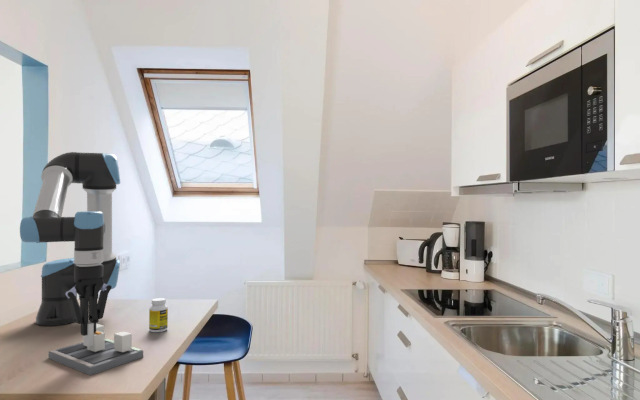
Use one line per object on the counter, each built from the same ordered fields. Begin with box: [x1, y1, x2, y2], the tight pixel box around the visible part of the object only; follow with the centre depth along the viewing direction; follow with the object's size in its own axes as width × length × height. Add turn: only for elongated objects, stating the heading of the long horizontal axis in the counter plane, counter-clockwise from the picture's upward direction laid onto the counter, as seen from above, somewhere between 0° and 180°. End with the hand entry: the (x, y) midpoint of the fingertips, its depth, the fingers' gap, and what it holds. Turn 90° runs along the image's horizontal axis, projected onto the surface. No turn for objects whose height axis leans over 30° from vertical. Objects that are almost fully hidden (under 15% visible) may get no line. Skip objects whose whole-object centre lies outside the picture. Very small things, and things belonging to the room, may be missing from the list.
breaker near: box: [113, 331, 133, 352], centre depth 127 cm, size 4×3×5 cm
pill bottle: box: [148, 297, 169, 333], centre depth 155 cm, size 6×6×11 cm
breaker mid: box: [87, 331, 106, 352], centre depth 128 cm, size 4×3×5 cm
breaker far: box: [96, 323, 105, 333], centre depth 135 cm, size 4×3×5 cm
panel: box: [47, 337, 144, 376], centre depth 128 cm, size 22×16×2 cm
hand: (88, 345), depth 126 cm, fingers closed
